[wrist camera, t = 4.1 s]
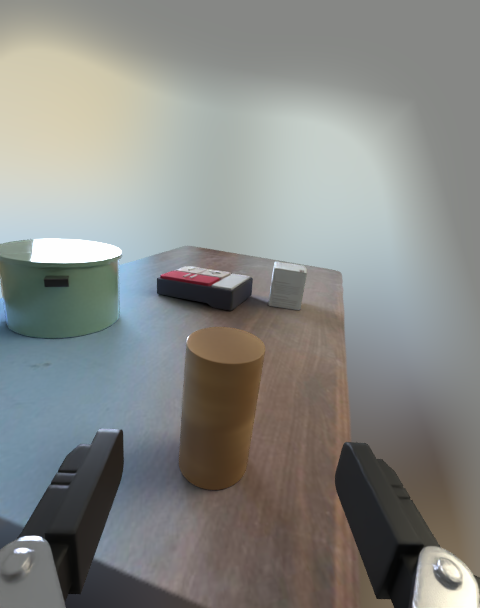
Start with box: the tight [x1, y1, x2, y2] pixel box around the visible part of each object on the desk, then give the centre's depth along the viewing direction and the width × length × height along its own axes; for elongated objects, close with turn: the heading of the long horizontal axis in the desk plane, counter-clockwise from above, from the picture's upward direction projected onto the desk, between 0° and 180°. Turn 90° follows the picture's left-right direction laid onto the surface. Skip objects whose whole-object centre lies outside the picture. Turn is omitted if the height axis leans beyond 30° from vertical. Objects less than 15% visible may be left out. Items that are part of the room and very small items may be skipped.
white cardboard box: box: [268, 262, 307, 310], centre depth 60 cm, size 6×6×7 cm
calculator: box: [157, 266, 253, 311], centre depth 60 cm, size 11×4×15 cm
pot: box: [0, 239, 122, 338], centre depth 43 cm, size 15×17×10 cm
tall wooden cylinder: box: [179, 327, 265, 490], centre depth 23 cm, size 5×5×10 cm
